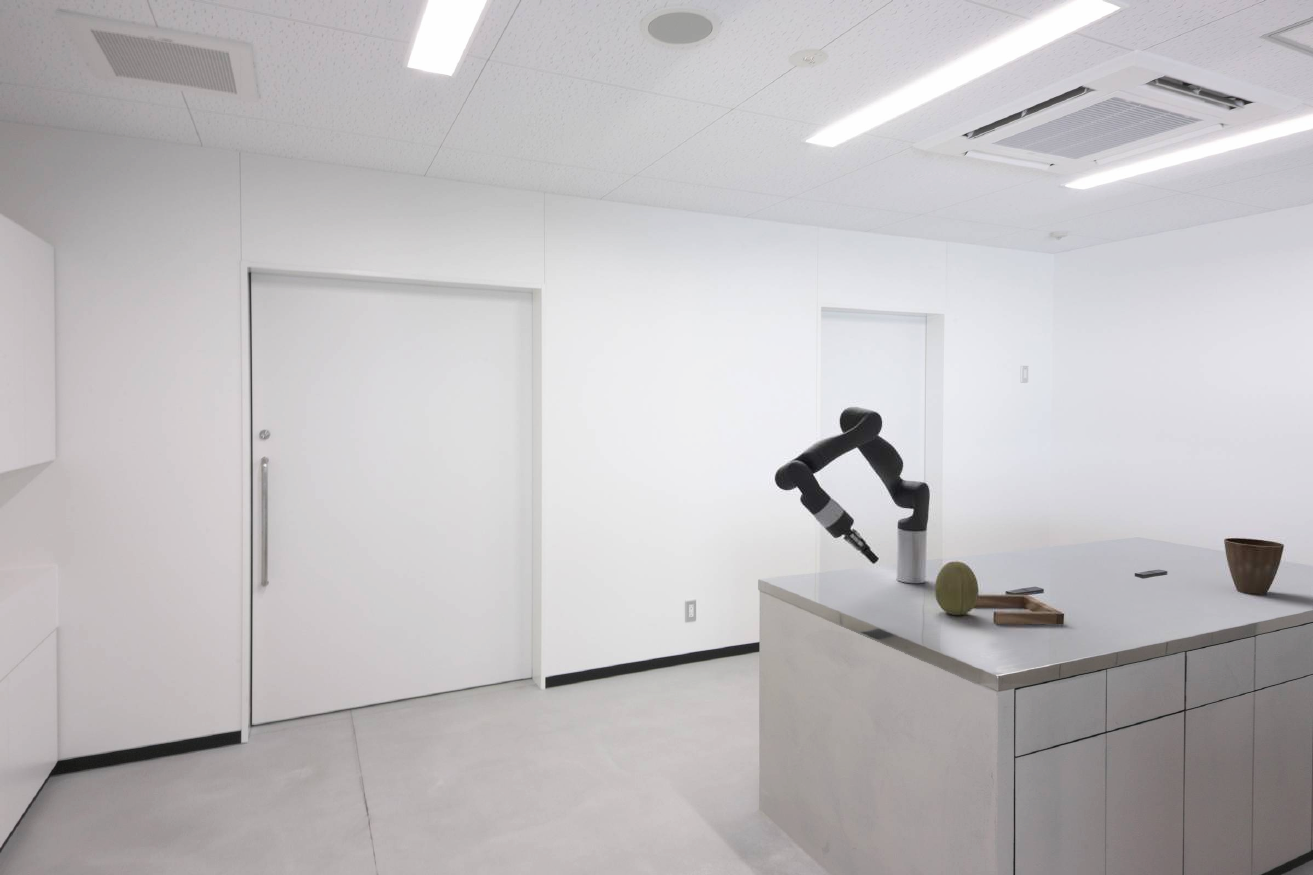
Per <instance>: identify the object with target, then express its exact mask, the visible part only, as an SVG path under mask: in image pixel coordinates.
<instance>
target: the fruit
mask: <svg viewBox="0 0 1313 875" xmlns="http://www.w3.org/2000/svg"><path fill="white" fill-rule="evenodd" d="M973 571H974V570H972V569H971V567H969V565H968V564H966V563H964V562H962V561H957V560H955V561H950V562H949V561H948V562H947V563H946V564H945V565H944V566H942V568H941V569H940V570H939V572H938V574H937V576H936V579H935V585H934V594H935V598H936V601H937V604H938V606H939V607H940V608H941V610H942V611H943V612H945V613H947V614H948V615H951V616H962V615H966V614H968V613H970V612H971V611H972V610H973V609H974V608H975V607H974V606H975V604H976V602H977V599H978V595H979V584H978V579H977V576H976V575H975V572H973Z"/></svg>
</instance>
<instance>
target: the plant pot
mask: <svg viewBox="0 0 1313 875" xmlns="http://www.w3.org/2000/svg"><path fill="white" fill-rule="evenodd" d="M1223 544H1224V550H1225V556H1226V561H1227V567H1228V570H1229V572H1230V573H1229V574H1230V577H1231V579H1232V582H1233V583H1234V584H1233V585H1234V588H1235V589H1236V591H1237V592H1239V593H1243V594H1247V595H1257V596H1258V595H1259V596H1264V595H1265V596H1266V595H1267V594H1268V592H1269V590H1270V588H1271V586H1272V584H1273V582H1274V580H1275V578H1276V575H1277V573H1278V570H1279V567H1280V564H1281V560H1282V556H1283V552H1284V548H1285V544H1283V543H1282V542H1278V541H1277V542H1276V541H1271V540H1265V539H1255V538H1245V537H1242V538H1241V537H1230V538H1229V537H1228V538H1223Z"/></svg>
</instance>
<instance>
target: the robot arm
mask: <svg viewBox="0 0 1313 875" xmlns="http://www.w3.org/2000/svg"><path fill="white" fill-rule="evenodd" d="M839 427H840V430H841V432H842V433H840V434H839V433H838V434H836V435H834V436H833V435H832V436H829V437H826V438H823V439H821V440H818V441H817V442H815V443H813V444H812V445H811V446H809V447H808V448H807V449H805V450H803V452H802V453H801V454H799V455H798V456H797V457H795V458H793V459H792V460H789V461H788V462H787V463H785V464H784V465H782V466H780V467H779V468H778V469H777V470H776V472H775V475H774V482H775V485H776V486H777V487H778V488H779V489H780V490H782V491H791V490H794V489H796V488H798V490H799V492H800V493H801V495H800V499H799V500H800V503H801V504H802V505H803V506H804V508H806V510H808V512H810V514H812V516H813V517H814V519H815V520H816V521H817V522H818V523H819V524H820V525H821V526H822V527H823V528H824V529H825V530H826V531H827V533H828V534H830V535H831V536H832V537H833V538H834V539H838V538H841V537H842V536H844V537H843V540H844V541H845V542H846V543H848V544H850V546H852V548H853V549H854V550H856V551H859V552H860V554H861V555H863V556H865V558H866V559H868V561H869V562H871V563H872V564H873V565H874V564H876V563H877V562H878V561H879V559H880V558H879V557H878V556H877V555H876V554H875V553H874V551H872V550H871V547H870V546H869V545H868V544H867V541H866V540H865V539H864V538H863V537H862V536H861V533H859V532H858V531H857V529H855V528H852V527H853V525H854V523H855V519H854V518H853V517H852V516H851V515H850V514H849V513H848V512H847V511H846V510H845V509H844V508H843V507H842V506H841V505H840V504H839V502H837V500H834V498H832V497H831V496H830V495H829V494H828V493H827V491H826V490H825V489H824V488H822V487H821V485H820V484H819V482H818V479H817V478H816V477H815V475H814V474H817V473H818V472H820V471H821V470H822V469H824V468H825V467H826V466H828V465H829V464H830V463H832V462H833V461H835V460H836V459H838V458H840V457H842V456H843V455H846V453H848V452H850V451H853V450H855V449H856V448H857V449H858V451H859V452H860V453H861V454H862V456H863V457H864V458H865V460H866V461H867V463H868V464H869V465H870V467H871V468H872V470H873V471H874V472H875V474H876V475H877V476H878V477H879V479H880V480H881V481H882V484H884V486H885V488H886V490H887V491H888V493H889V496H890V497H891V499H892V501H893V503H894V504H895V505H896V506H897V507H898V508H902V509H910V510H913V511H912V515H911V516H908V517H904V518H901V519H899V520H898V521H897V543H896V545H897V546H896V547H897V548H896V550H897V552H896V580H897V581H898V582H900V583H901V582H902V583H906V584H922V583H926V581H927V580H926V578H927V576H926V575H927V541H928V540H927V537H928V533H927V532H928V522H929V509H930V498H931V495H930V487H929V485H928V484H927V482H923V481H916V480H915V481H914V480H906V479H903V478H902V477H901V475H902V472H903V471H904V470H903V469H904V460H903V459H902V456H901V455H900V454H899V452H898V451H897V449H896V448H895V447H894V446H893V444H891V443H890V442H888V440H886V439H884V438H883V437H882V436H880V435H879V434H880V433H881V432H882V431H881V430H882V429H883V419H882V416H881V415H880V413H878V412H877V411H874V410H872V409H867V408H864V407H859V406H850V407H847V408H844V409H843V410H842V412H841V413H840V416H839Z"/></svg>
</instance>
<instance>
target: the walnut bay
mask: <svg viewBox="0 0 1313 875" xmlns="http://www.w3.org/2000/svg"><path fill="white" fill-rule="evenodd" d="M976 607H982V608H983V607H989V608H991V607H993V608H994V607H999V608H1001V607H1007V608H1010V607H1013V608H1015V607H1018V608H1019V607H1021V608H1022V607H1023V608H1025V609H1027V610H1028V611H1013V610H1012V611H1009V610H1007V611H1004V610H1003V611H999V610H998V611H993V623H994V624H995V625H999V626H1000V625H1003V626H1004V625H1005V626H1006V625H1009V626H1010V625H1015V626H1016V625H1020V626H1022V625H1023V624H1025V625H1027V626H1029V625H1028V624H1031V625H1030V626H1035V625H1034V624H1057V626H1059V625H1058V624H1064V623H1065V613H1063V612H1061V611H1060V610H1058V609H1057V608H1054V607H1052V606H1050V605H1048V604H1046V603H1044V602H1041V601H1040V600H1039V599H1036V598H1035V597H1032V596H1031V595H1029V594H978V599H977V602H976V604H975V606H974V607H973V608H976ZM1025 625H1023V626H1025Z"/></svg>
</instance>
